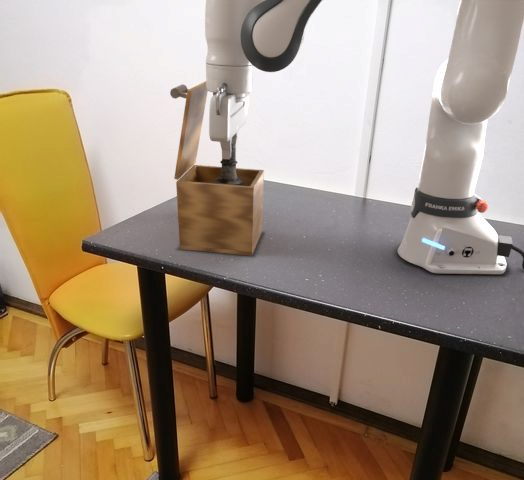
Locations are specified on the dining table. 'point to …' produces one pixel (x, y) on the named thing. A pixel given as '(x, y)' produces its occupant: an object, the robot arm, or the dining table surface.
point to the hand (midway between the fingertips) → (229, 156)
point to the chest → (220, 211)
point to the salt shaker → (229, 170)
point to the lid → (190, 125)
